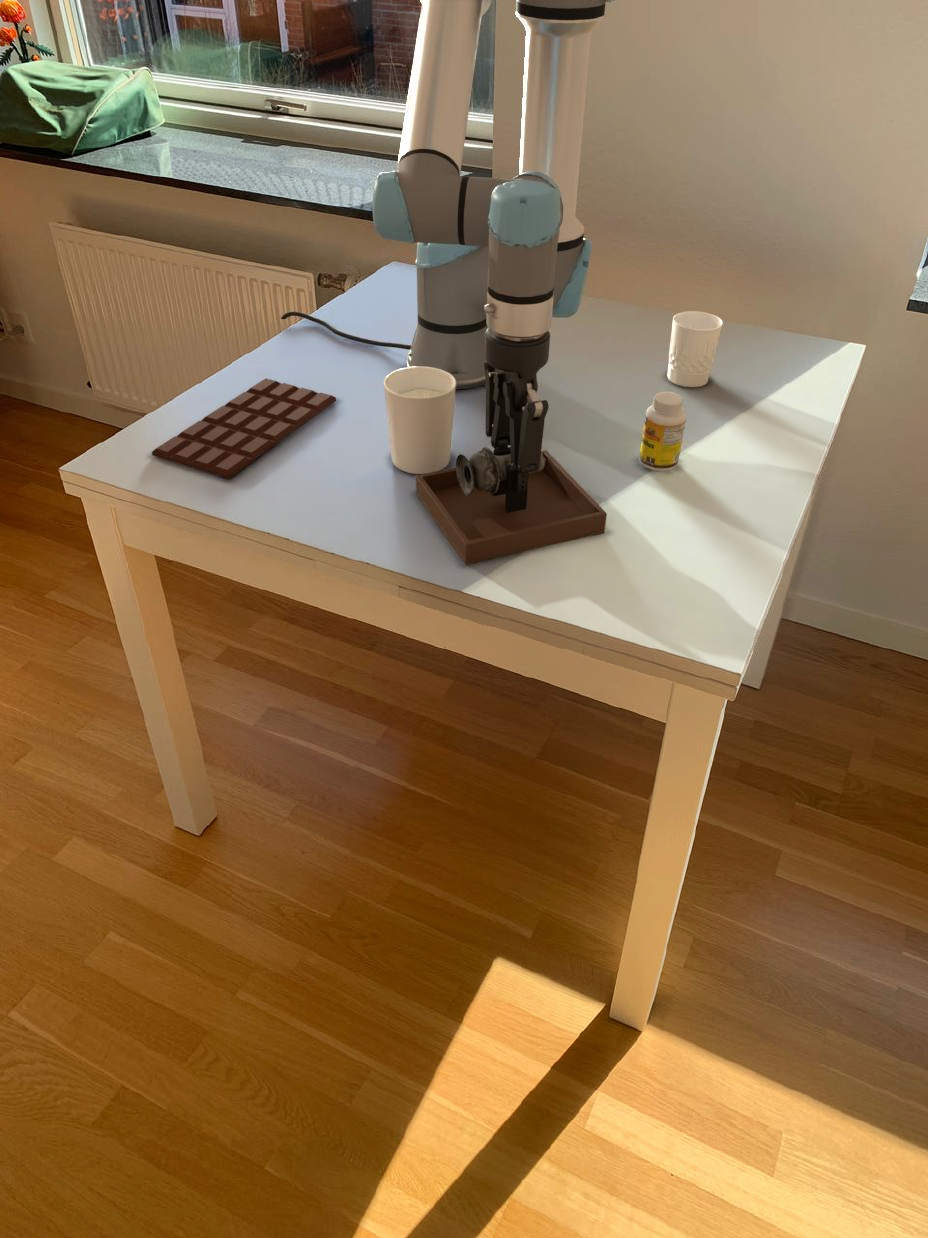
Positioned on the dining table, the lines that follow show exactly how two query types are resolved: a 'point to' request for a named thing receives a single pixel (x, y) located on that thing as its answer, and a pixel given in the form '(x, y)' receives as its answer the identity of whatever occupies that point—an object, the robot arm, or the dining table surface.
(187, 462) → the chocolate bar
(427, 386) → the candle holder
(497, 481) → the salt shaker
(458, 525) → the tray
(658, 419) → the supplement bottle
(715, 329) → the white cup
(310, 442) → the dining table surface
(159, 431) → the dining table surface
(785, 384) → the dining table surface
